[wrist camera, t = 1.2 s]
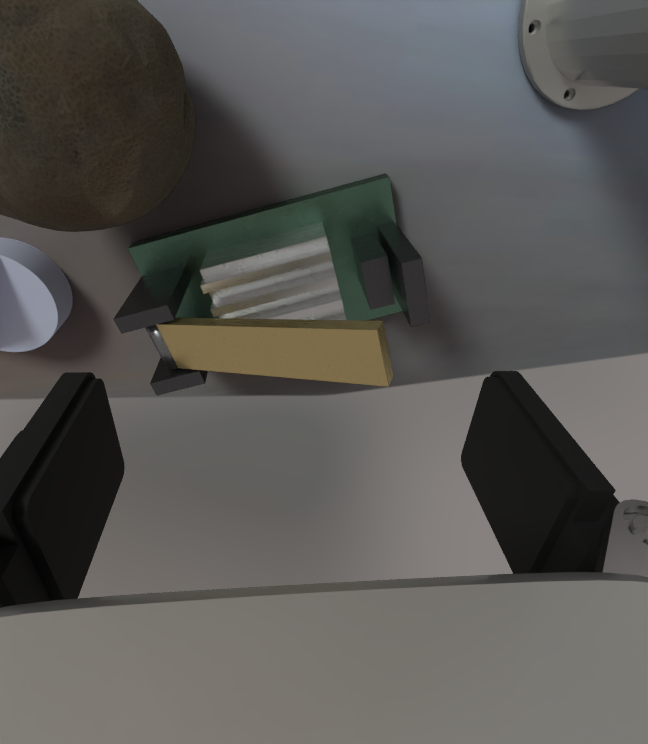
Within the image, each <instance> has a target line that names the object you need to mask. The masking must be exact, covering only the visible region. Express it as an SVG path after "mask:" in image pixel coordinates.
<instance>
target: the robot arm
mask: <svg viewBox="0 0 648 744" xmlns="http://www.w3.org/2000/svg"><path fill="white" fill-rule="evenodd" d="M530 24H531V25H532V30H531V31H530V33H529V30H528V29H529V25H530ZM518 44H519V52H520V58H521V61H522V64H523V67H524V71H525V73H526V75H527V77H528V78H529V80H530V82H531V84H532V86H533V87H534V88H535V89H536V90H537V91H538V92H539V93H540V94H541V96H542V97H544V98H545V99H547V100H548V101H550V102H552V103H553V104H555V105H558V106H561V107H565V108H568V109H577V110H589V109H598V108H601V107H605V106H609V105H612V104H614V103H616V102H618V101H620V100H622V99H625V98H627V97H628V96H630V95H631V94H633V93H634V92H636V91H637V90H638V89H648V0H522V1H521V6H520V11H519V18H518ZM565 91H566V95H565V97H564V93H565ZM461 462H462V467H463V469H464V471H465V473H466V476H467V477H468V480H469V482H470V484H471V486H472V488H473V490H474V492H475V494H476V496H477V498H478V501H479V503H480V505H481V507H482V509H483V511H484V513H485V515H486V517H487V520H488V522H489V524H490V525H491V528H492V530H493V532H494V534H495V536H496V538H497V540H498V542H499V545H500V547H501V549H502V551H503V553H504V555H505V557H506V559H507V561H508V563H509V566H510V568H511V570H512V572H513V574H498V575H477V576H458V577H437V578H416V579H396V580H377V581H357V582H340V583H321V584H303V585H284V586H267V587H266V586H265V587H248V588H232V589H216V590H197V591H181V592H164V593H147V594H132V595H119V596H106V597H92V598H79V599H77V598H78V596H79V593H80V590H81V588H82V585H83V582H84V579H85V577H86V574H87V572H88V569H89V566H90V564H91V561H92V558H93V556H94V553H95V550H96V548H97V545H98V542H99V540H100V537H101V534H102V531H103V529H104V526H105V523H106V521H107V518H108V516H109V513H110V510H111V507H112V505H113V502H114V500H115V497H116V494H117V491H118V489H119V486H120V483H121V481H122V478H123V475H124V460H123V457H122V452H121V448H120V444H119V441H118V436H117V433H116V429H115V425H114V421H113V417H112V413H111V409H110V405H109V401H108V397H107V393H106V390H105V386H104V382H103V381H102V379H96V378H95V376H94V374H93V373H91V372H81V373H64V374H63V375H62V376H61V377H60V378H59V380H58V381H57V383H56V384H55V386H54V387H53V388H52V390H51V391H50V393H49V394H48V396H47V397H46V398H45V400H44V401H43V403H42V404H41V406H40V407H39V409H38V410H37V411H36V413H35V414H34V415H33V417H32V418H31V420H30V421H29V423H28V424H27V425H26V427H25V428H24V430H22V431H20V433H19V434H18V435H17V436H16V437H15V438H14V440H13V441H12V442H11V444H10V445H9V447H8V448H7V450H6V451H5V452H4V454H3V455H2V456H1V458H0V744H648V502H646V501H641V500H625V501H623V502H621V503H620V502H619V501H618V500H617V499H616V498H615V496H614V495H613V494H614V492H615V489H614V488H613V486H612V485H611V484H610V483H609V482H608V480H607V479H606V478H605V477H604V475H603V474H602V473H601V472H600V471H599V469H598V468H597V467H596V466H595V464H593V462H592V461H591V460H590V458H589V457H588V456H587V455H586V454H585V452H584V451H583V450H582V449H581V447H580V446H579V445H578V444H577V443H576V441H575V440H574V439H573V438H572V436H571V435H570V434H569V433H568V431H567V430H566V429H565V428H564V427H563V425H562V424H561V423H560V422H559V421H558V419H557V418H556V417H555V416H554V414H553V413H552V412H551V411H550V410H549V408H548V407H547V406H546V405H545V403H544V402H543V401H542V400H541V399H540V397H539V396H538V395H537V394H536V392H535V391H534V390H533V389H532V388H531V386H530V385H529V384H528V383H527V381H526V380H525V379H524V378H523V377H522V375H521V374H520V373H519V372H517V371H494V372H493V373H492V374H491V375H490V377H486V378H485V379H484V381H483V385H482V388H481V391H480V394H479V398H478V401H477V404H476V407H475V411H474V414H473V417H472V421H471V424H470V427H469V431H468V434H467V437H466V441H465V444H464V448H463V450H462V454H461Z"/></svg>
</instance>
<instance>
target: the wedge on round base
mask: <svg viewBox="0 0 648 744" xmlns="http://www.w3.org/2000/svg"><path fill="white" fill-rule="evenodd" d="M72 303H73V298H72V291H71V287H70V285H69V282H68V280H67V278H66V276H65V275H64V273H63V272H62V270H61V269H60V268H59V267H58V265H57V264H56V263H55V262H54V261H53V260H52V259H51V258H49V257H48V256H47V255H46V254H44V253H43V252H41V251H40V250H38V249H37V248H35V247H33V246H31V245H29V244H26V243H24V242H21V241H18V240H14V239H8V238H0V350H1V351H8V352H23V351H29V350H33V349H36V348H38V347H40V346H42V345H44V344H45V343H46V342H47V341H48V340H50V338H51V337H52V336H53V335H54V334H55V332H56V331H57V330H58V329H59V328H60V327H61V325H62V324H63V323H64V322H65V321H66V319H67V318H68V316H69V314H70V312H71V309H72Z"/></svg>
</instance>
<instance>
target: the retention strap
mask: <svg viewBox="0 0 648 744" xmlns="http://www.w3.org/2000/svg"><path fill="white" fill-rule="evenodd" d="M145 328H146V330H147V332H148V333H149V335H150V337H151V339H152V341H153V343H154V345H155V347H156V348H157V350H158V352H159V354H160V356H161V358H162V360H163V362H164V364H165V365H166V367H167V369H168V370H174V369H177V368H183V369H194V370H206V371H217V372H229V373H240V374H251V375H263V376H274V377H286V378H297V379H309V380H320V381H331V382H343V383H354V384H366V385H377V386H389V384H390V382H391V380H392V378H393V372H392V367H391V361H390V356H389V351H388V345H387V340H386V335H385V329H384V324H383V321H359V320H296V319H233V318H175V319H174V320H172V321H168V322H164V323H160V324H156V325H153V326H149V327H145Z"/></svg>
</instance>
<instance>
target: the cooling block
mask: <svg viewBox="0 0 648 744" xmlns="http://www.w3.org/2000/svg"><path fill="white" fill-rule="evenodd" d="M128 250H129V252H130V254H131V256H132V258H133V260H134V262H135V264H136V266H137V268H138V270H139V272H140V274H141V276H142V277H141V278H140V280H139V281H138V283H137V284H136V286H135V287H134V289H133V290H132V292H131V293H130V295H129V296H128V298H127V299H126V301H125V302H124V304H123V305H122V307H121V308H120V310H119V312H118V313H117V315H116V316H115V318H114V321H115V323H116V325H117V326H118V328H119V330H120V332H121V333H126V332H130V331H133V330H137V329H141V328H145V327H149V326H153V325H156V324H160V323H164V322H168V321H172V320H174V319H175V318H233V319H296V320H359V321H366V320H370V319H374V318H378V317H382V316H386V315H390V314H394V313H398V312H401V311H403V313H404V315H405V317H406V318H407V320H408V322H409V324H410V326H411V327H413V326H417V325H421V324H425V323H429V322H430V320H429V312H428V304H427V296H426V287H425V279H424V271H423V262H422V258H421V256H420V255H419V254H418V252H417V251H416V250H415V248H414V247H413V246H412V245H411V243H410V242H409V241H408V239H407V238H406V237H405V235H404V234H403V233H402V232H401V230H400V229H399V228H398V226H397V225H396V218H395V211H394V205H393V198H392V191H391V184H390V177H389V176H388V175H387V174H382V175H378V176H375V177H371V178H367V179H364V180H360V181H356V182H353V183H349V184H345V185H342V186H338V187H335V188H331V189H327V190H324V191H320V192H316V193H313V194H309V195H305V196H302V197H298V198H294V199H291V200H287V201H283V202H280V203H276V204H273V205H269V206H265V207H262V208H258V209H254V210H251V211H247V212H243V213H240V214H236V215H232V216H229V217H225V218H221V219H218V220H214V221H211V222H207V223H203V224H200V225H196V226H192V227H189V228H185V229H181V230H178V231H174V232H170V233H167V234H163V235H159V236H156V237H152V238H148V239H145V240H141V241H138V242H134V243H132V244H131V245H130V247H129V248H128ZM207 373H208V371H206V370H194V369H183V368H177V369H174V370H168V369H167V367H166V365H165V364H164V362H163V360H162V358H160V361H159V363H158V366H157V368H156V371H155V373H154V375H153V378H152V380H151V383H150V384H151V386H152V388H153V389H154V391H155V393H156V395H161V394H165V393H169V392H173V391H177V390H181V389H185V388H189V387H193V386H197V385H201V384H205V381H206V377H207Z"/></svg>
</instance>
